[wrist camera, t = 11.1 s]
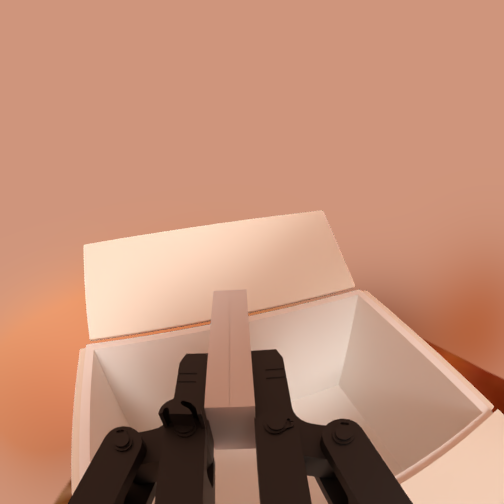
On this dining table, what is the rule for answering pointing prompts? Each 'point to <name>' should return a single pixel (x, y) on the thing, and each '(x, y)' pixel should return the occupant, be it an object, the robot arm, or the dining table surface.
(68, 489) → the dining table surface
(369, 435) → the carton
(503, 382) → the dining table surface
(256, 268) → the front flap
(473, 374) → the dining table surface
